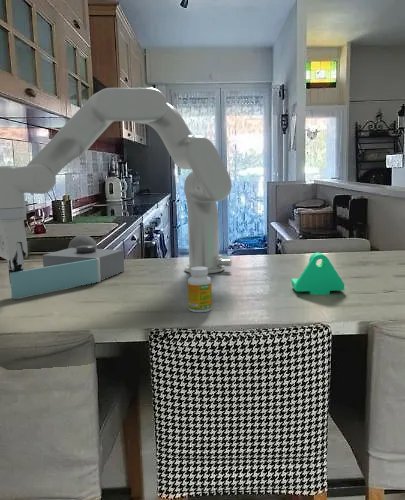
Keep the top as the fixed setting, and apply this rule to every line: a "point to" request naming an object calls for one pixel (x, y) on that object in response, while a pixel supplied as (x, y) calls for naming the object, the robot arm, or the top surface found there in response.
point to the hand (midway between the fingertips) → (17, 284)
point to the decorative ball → (81, 241)
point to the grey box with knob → (88, 258)
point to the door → (54, 278)
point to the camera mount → (318, 277)
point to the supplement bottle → (199, 290)
